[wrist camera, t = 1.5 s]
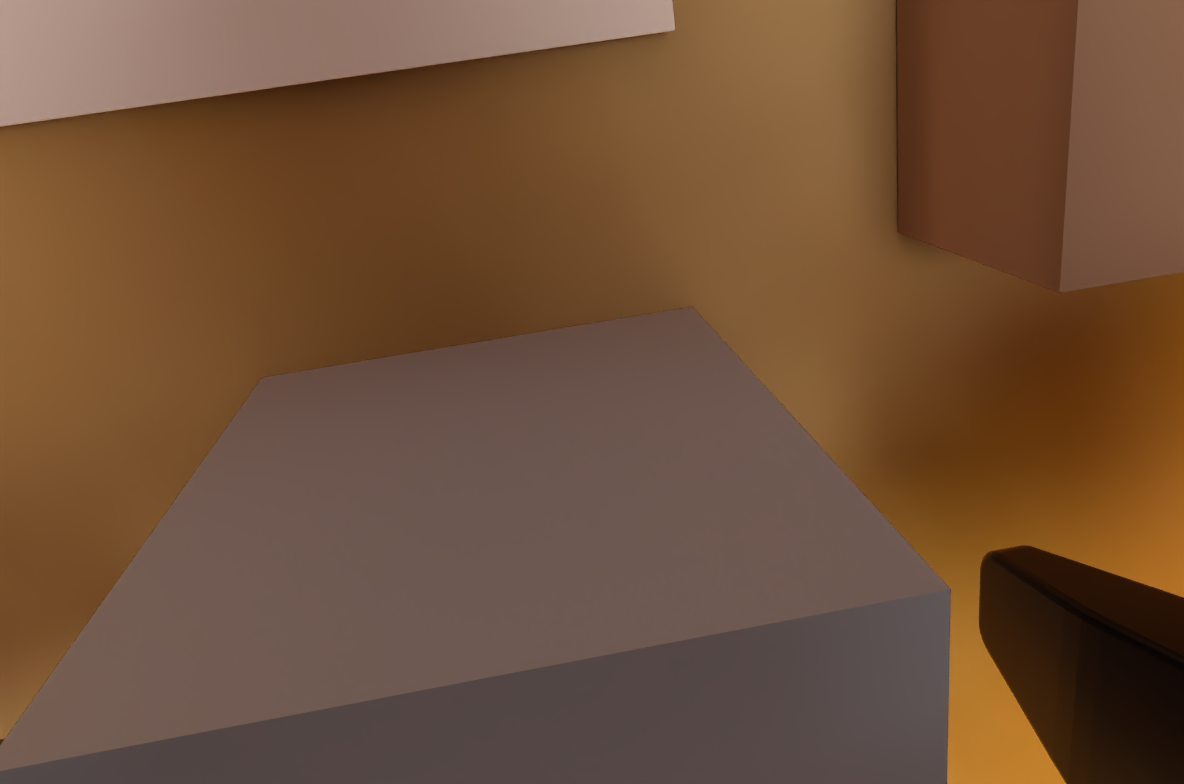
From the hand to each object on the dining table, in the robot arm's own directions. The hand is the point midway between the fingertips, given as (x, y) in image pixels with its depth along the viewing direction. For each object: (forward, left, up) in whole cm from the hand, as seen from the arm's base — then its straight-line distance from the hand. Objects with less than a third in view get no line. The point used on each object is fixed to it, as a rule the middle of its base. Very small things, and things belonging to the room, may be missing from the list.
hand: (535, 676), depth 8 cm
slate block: (0, 0, -3) cm, 3 cm away
